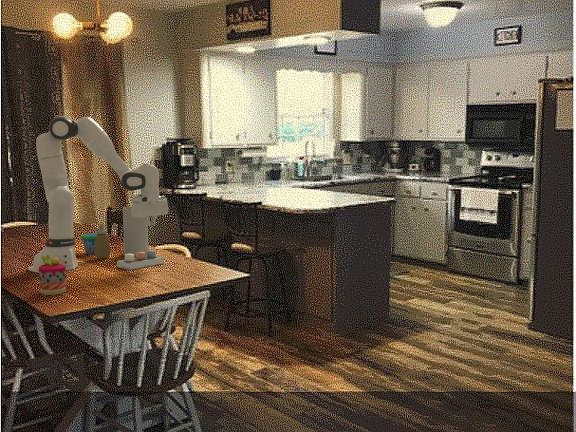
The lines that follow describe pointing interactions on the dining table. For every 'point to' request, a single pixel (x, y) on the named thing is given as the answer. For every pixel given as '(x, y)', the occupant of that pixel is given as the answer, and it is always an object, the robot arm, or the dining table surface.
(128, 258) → the ivory button
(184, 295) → the dining table surface
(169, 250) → the dining table surface
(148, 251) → the slate button
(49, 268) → the cake
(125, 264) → the panel
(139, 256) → the terracotta button
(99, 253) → the squeeze bottle
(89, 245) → the snack cup
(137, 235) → the cylinder vase
